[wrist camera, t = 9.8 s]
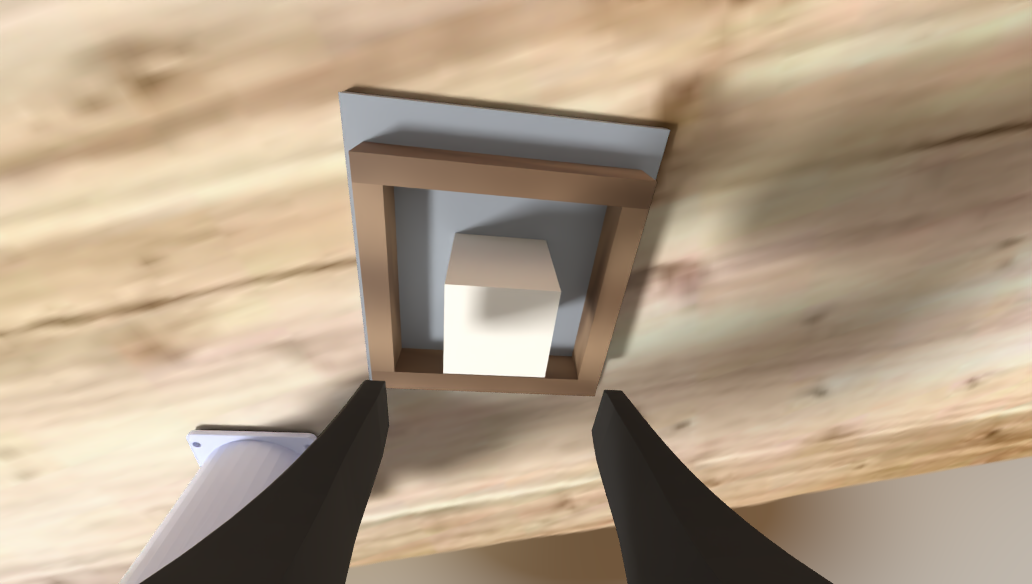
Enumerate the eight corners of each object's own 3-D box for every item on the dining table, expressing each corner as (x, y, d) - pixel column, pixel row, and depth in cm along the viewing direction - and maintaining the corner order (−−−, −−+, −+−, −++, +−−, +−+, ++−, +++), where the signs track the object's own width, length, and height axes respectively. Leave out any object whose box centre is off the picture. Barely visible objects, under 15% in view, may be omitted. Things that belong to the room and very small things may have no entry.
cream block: (534, 314, 22) (544, 377, 18) (452, 309, 21) (443, 373, 17) (545, 240, 20) (561, 291, 15) (454, 233, 19) (444, 284, 15)
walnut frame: (587, 372, 24) (594, 396, 23) (381, 362, 23) (372, 387, 21) (641, 169, 18) (657, 181, 16) (362, 141, 17) (348, 151, 15)
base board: (591, 387, 26) (593, 393, 25) (372, 377, 24) (369, 384, 24) (664, 127, 18) (670, 130, 17) (343, 91, 16) (338, 92, 16)
